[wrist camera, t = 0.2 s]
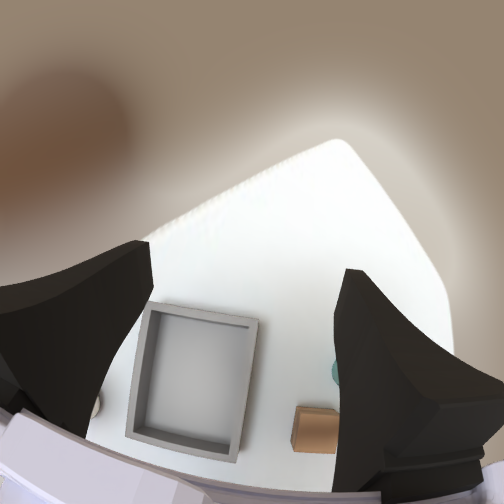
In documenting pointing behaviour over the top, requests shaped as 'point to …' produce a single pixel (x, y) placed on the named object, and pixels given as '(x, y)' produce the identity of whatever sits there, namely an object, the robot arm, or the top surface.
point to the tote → (191, 380)
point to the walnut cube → (315, 430)
